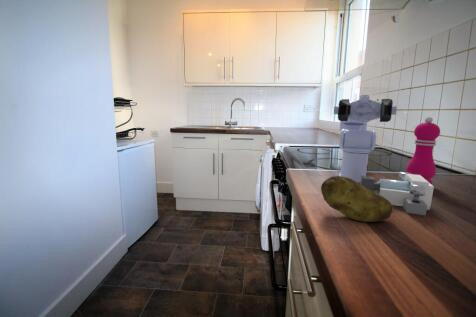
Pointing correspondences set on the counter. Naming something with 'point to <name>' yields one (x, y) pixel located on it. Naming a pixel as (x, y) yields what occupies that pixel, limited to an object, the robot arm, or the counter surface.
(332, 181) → the potato
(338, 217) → the counter surface
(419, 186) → the plunger right
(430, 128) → the pepper mill
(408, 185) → the cartridge
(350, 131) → the robot arm
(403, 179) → the plunger left
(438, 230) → the counter surface
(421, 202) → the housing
